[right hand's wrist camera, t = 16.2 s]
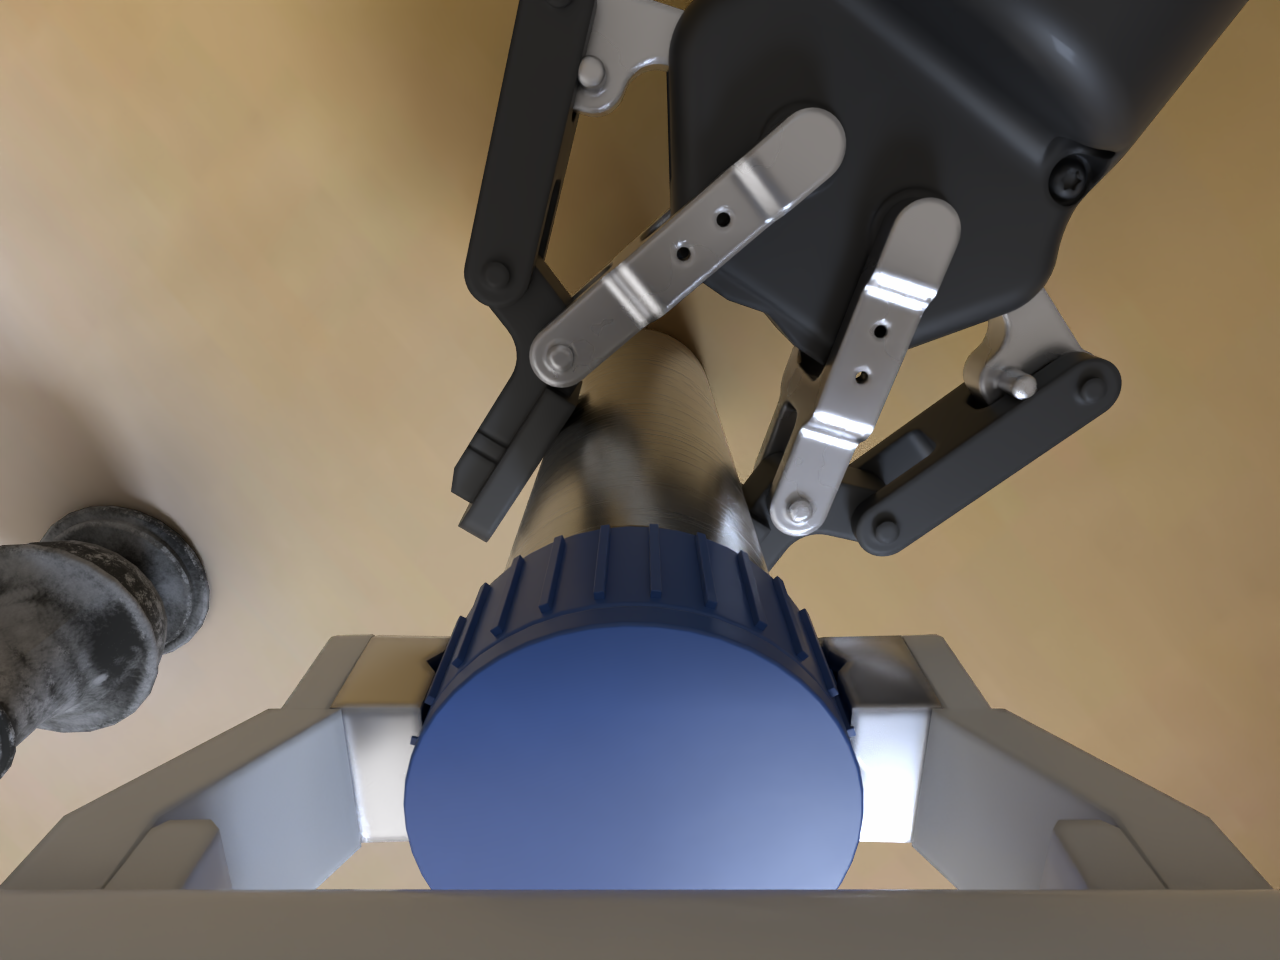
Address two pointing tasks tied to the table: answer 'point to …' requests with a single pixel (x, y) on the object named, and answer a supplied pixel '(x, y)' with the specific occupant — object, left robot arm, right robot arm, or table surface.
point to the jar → (641, 456)
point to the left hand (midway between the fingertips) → (573, 572)
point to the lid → (634, 729)
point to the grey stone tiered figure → (91, 620)
